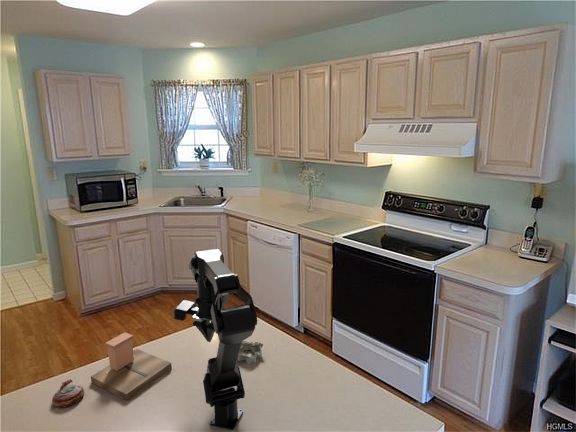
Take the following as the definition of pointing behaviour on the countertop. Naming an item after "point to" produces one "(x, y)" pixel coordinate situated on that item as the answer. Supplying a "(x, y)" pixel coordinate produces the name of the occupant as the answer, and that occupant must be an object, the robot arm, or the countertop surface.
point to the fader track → (132, 375)
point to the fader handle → (120, 351)
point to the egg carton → (254, 349)
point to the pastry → (67, 394)
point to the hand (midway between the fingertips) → (209, 340)
